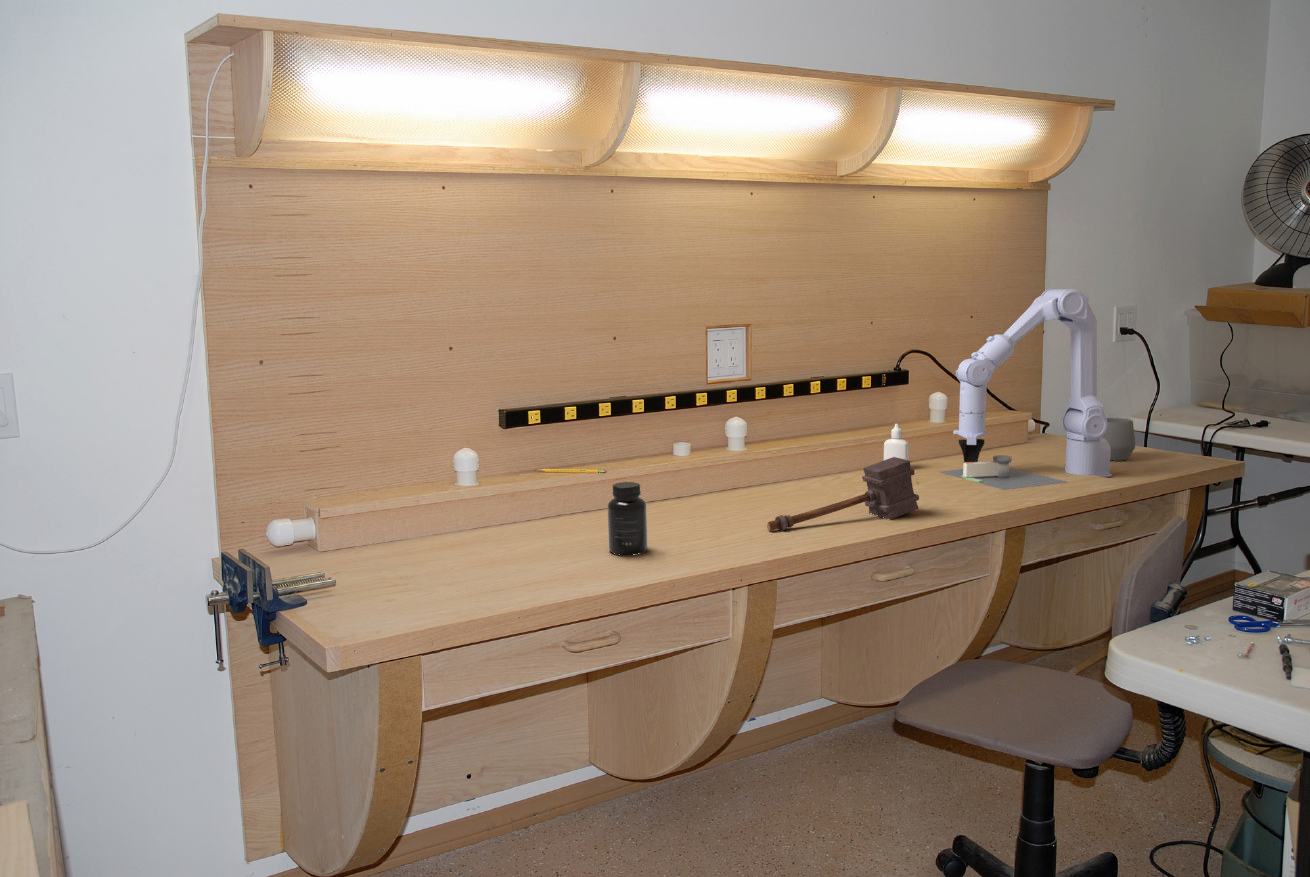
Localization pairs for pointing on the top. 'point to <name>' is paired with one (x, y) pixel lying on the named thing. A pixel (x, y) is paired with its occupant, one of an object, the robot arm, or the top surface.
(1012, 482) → the dial board
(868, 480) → the hammer
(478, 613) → the top surface
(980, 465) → the peg key
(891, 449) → the eye dropper bottle
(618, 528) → the supplement bottle
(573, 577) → the top surface
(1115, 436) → the cup
